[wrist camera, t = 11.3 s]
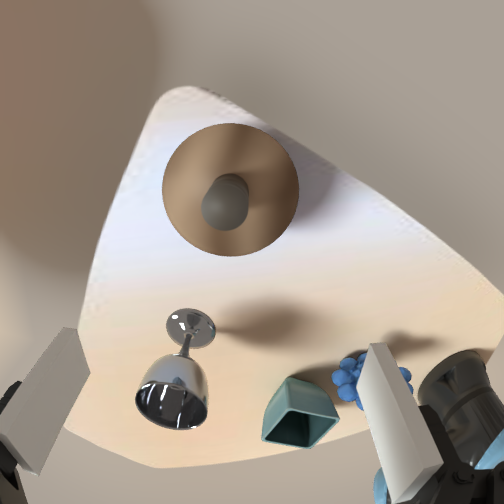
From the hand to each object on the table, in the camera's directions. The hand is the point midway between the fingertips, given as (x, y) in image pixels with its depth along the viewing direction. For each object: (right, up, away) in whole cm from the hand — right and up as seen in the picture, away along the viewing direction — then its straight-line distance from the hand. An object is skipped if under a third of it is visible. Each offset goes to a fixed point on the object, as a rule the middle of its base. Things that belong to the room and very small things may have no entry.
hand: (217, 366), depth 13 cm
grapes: (+19, -10, +33) cm, 40 cm away
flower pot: (+8, -18, +36) cm, 41 cm away
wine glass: (-7, -6, +31) cm, 33 cm away
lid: (-1, +11, +18) cm, 21 cm away
